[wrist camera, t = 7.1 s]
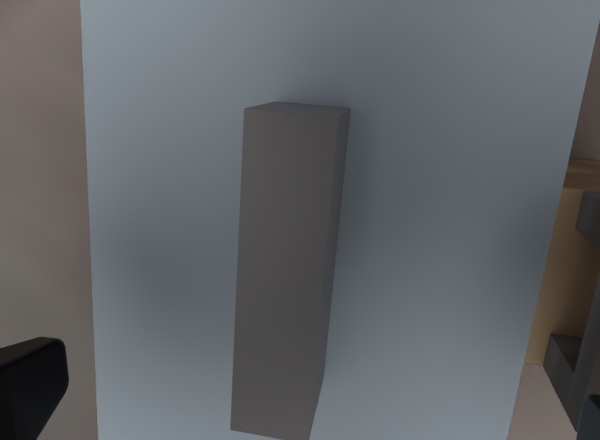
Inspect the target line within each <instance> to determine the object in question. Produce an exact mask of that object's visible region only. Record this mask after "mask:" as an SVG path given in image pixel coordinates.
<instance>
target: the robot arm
mask: <svg viewBox="0 0 600 440" xmlns="http://www.w3.org/2000/svg"><path fill="white" fill-rule="evenodd" d="M68 383H69V375H68V366H67V357H66V349H65V345H64V343H63V341H62V340H60V339H57V338H48V337H38V338H34V339H31V340H27V341H24V342H21V343H17V344H14V345H10V346H7V347H4V348H0V440H36V439H37V438H38V436H39V434H40V433H41V431H42V430H43V428H44V426H45V425H46V423H47V422H48V420H49V418H50V417H51V415H52V414H53V412H54V410H55V409H56V407H57V406H58V404H59V402H60V401H61V399H62V398H63V396H64V394H65V392H66V390H67V388H68ZM576 440H600V395H598V394H589V395H587V396H586V397H585V399H584V401H583V405H582V410H581V416H580V421H579V427H578V432H577V438H576Z"/></svg>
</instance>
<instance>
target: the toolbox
mask: <svg viewBox="0 0 600 440" xmlns="http://www.w3.org/2000/svg"><path fill="white" fill-rule="evenodd" d="M524 363H528V364H534V365H541V366H543V367H544V369H545V371H546V373H547V375H548V377H549V379H550V381H551V383H552V385H553V387H554V389H555V391H556V393H557V395H558V397H559V399H560V401H561V403H562V405H563V407H564V409H565V411H566V413H567V415H568V417H569V419H570V421H571V423H572V425H573V427H574V429H575V431H576V432H578V427H579V421H580V416H581V410H582V405H583V401H584V399H585V397H586V396H587V395H589V394H598V395H600V161H592V160H582V159H572V158H569V161H568V166H567V170H566V175H565V179H564V184H563V188H562V193H561V197H560V202H559V206H558V211H557V215H556V220H555V224H554V229H553V233H552V238H551V242H550V247H549V251H548V256H547V260H546V265H545V269H544V274H543V278H542V283H541V287H540V292H539V296H538V301H537V306H536V310H535V315H534V319H533V324H532V328H531V333H530V337H529V342H528V346H527V351H526V355H525V360H524Z"/></svg>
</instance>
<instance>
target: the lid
mask: <svg viewBox="0 0 600 440" xmlns="http://www.w3.org/2000/svg"><path fill="white" fill-rule="evenodd" d="M80 5H81V30H82V54H83V78H84V103H85V127H86V151H87V176H88V200H89V225H90V249H91V273H92V298H93V322H94V347H95V371H96V395H97V420H98V440H507V436H508V432H509V427H510V423H511V418H512V414H513V409H514V405H515V400H516V396H517V391H518V387H519V382H520V378H521V373H522V369H523V364H524V360H525V355H526V351H527V346H528V342H529V337H530V333H531V328H532V324H533V319H534V315H535V310H536V306H537V301H538V296H539V292H540V287H541V283H542V278H543V274H544V269H545V265H546V260H547V256H548V251H549V247H550V242H551V238H552V233H553V229H554V224H555V220H556V215H557V211H558V206H559V202H560V197H561V193H562V188H563V184H564V179H565V175H566V170H567V166H568V161H569V157H570V152H571V148H572V143H573V139H574V134H575V130H576V125H577V121H578V116H579V111H580V107H581V102H582V98H583V93H584V89H585V84H586V80H587V75H588V71H589V66H590V62H591V57H592V53H593V48H594V44H595V39H596V35H597V30H598V26H599V21H600V0H80Z"/></svg>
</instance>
